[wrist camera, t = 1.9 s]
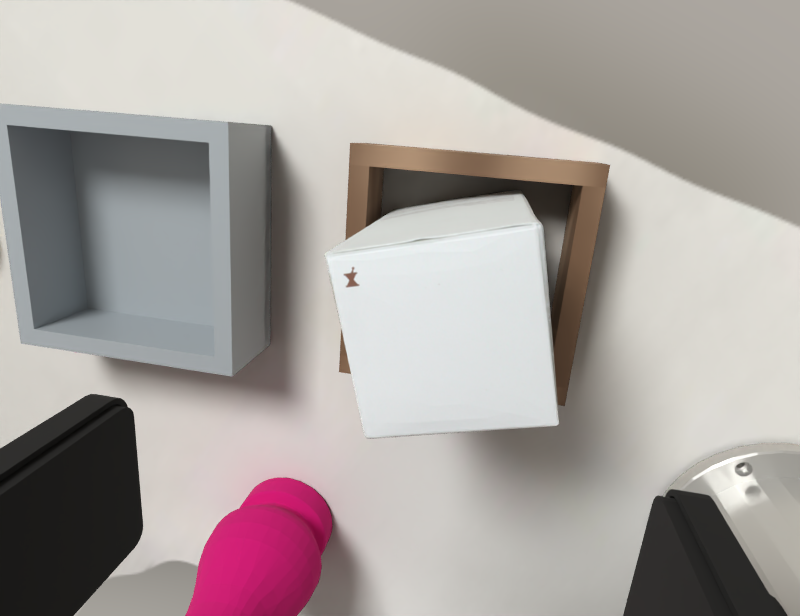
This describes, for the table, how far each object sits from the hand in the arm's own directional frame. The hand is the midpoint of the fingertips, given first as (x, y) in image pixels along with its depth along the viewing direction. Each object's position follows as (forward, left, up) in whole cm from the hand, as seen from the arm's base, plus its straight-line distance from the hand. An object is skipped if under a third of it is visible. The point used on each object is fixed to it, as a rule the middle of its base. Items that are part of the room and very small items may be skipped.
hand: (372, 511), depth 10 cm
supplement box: (0, 0, -22) cm, 22 cm away
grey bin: (+18, 0, -22) cm, 28 cm away
